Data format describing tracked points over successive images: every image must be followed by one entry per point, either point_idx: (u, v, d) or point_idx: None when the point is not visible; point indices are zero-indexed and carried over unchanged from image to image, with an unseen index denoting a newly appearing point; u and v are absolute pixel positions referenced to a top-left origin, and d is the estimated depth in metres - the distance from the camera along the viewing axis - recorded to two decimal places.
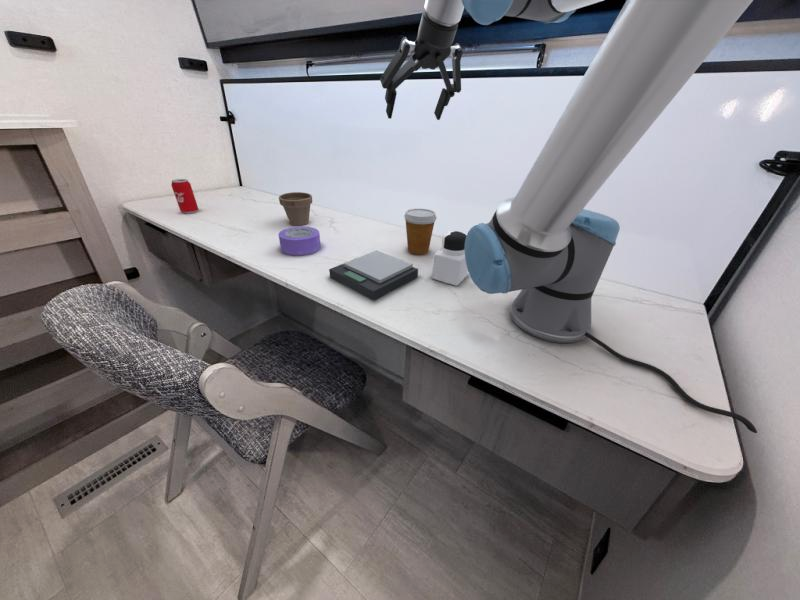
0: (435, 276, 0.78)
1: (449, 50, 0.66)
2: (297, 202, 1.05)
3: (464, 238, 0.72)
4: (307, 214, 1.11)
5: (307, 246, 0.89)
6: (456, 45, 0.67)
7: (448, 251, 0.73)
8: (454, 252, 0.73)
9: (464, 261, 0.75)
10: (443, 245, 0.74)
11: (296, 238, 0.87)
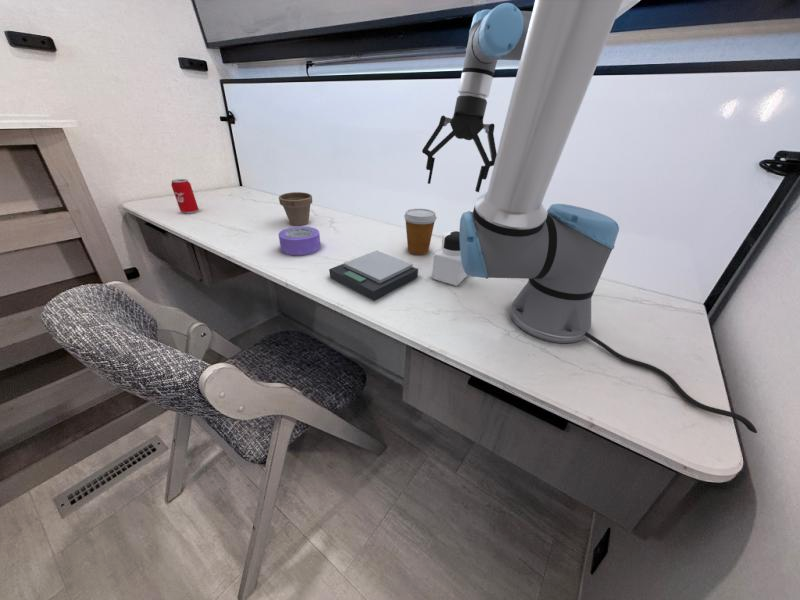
0: (435, 276, 0.78)
1: (481, 123, 0.76)
2: (297, 202, 1.05)
3: None
4: (307, 214, 1.11)
5: (307, 246, 0.89)
6: (489, 124, 0.77)
7: (448, 251, 0.73)
8: (454, 252, 0.73)
9: None
10: (443, 245, 0.74)
11: (296, 238, 0.87)
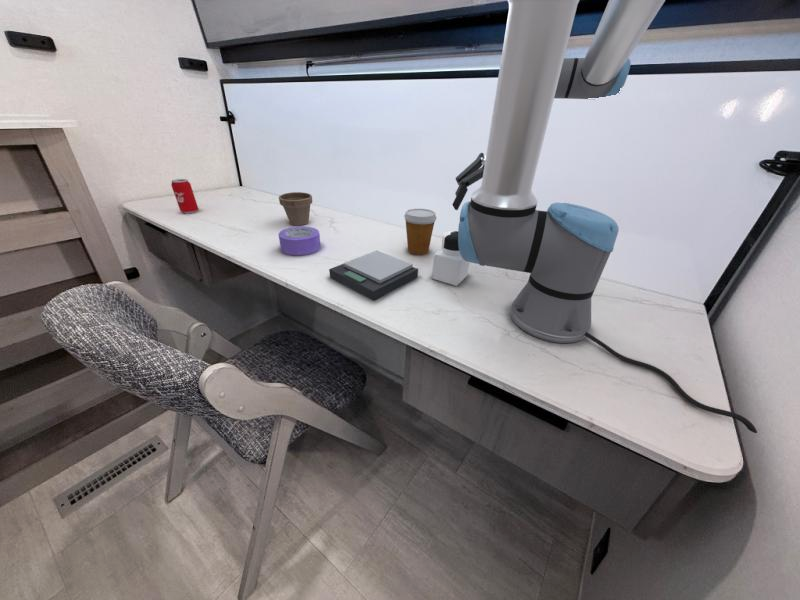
0: (435, 276, 0.78)
1: None
2: (297, 202, 1.05)
3: None
4: (307, 214, 1.11)
5: (307, 246, 0.89)
6: None
7: (448, 251, 0.73)
8: (454, 252, 0.73)
9: (464, 261, 0.75)
10: (443, 245, 0.74)
11: (296, 238, 0.87)
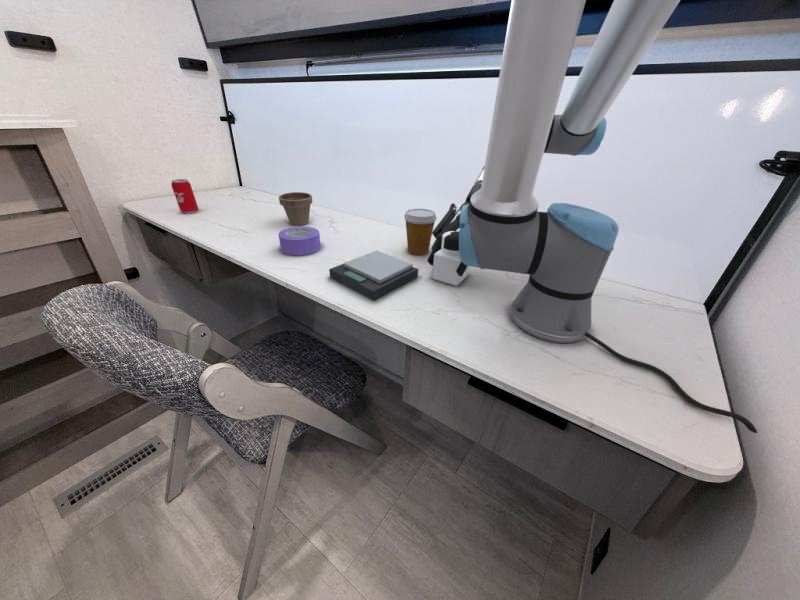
0: (435, 276, 0.78)
1: None
2: (297, 202, 1.05)
3: None
4: (307, 214, 1.11)
5: (307, 246, 0.89)
6: None
7: (448, 251, 0.73)
8: (454, 252, 0.73)
9: None
10: (443, 245, 0.74)
11: (296, 238, 0.87)
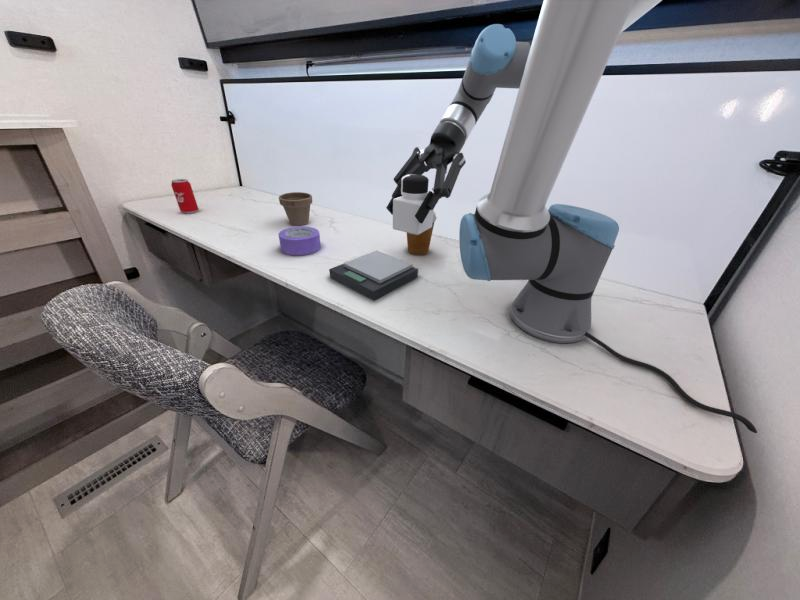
0: (395, 225, 0.71)
1: (452, 150, 0.68)
2: (297, 202, 1.05)
3: (424, 179, 0.66)
4: (307, 214, 1.11)
5: (307, 246, 0.89)
6: None
7: (407, 195, 0.67)
8: (413, 195, 0.66)
9: None
10: (402, 189, 0.68)
11: (296, 238, 0.87)
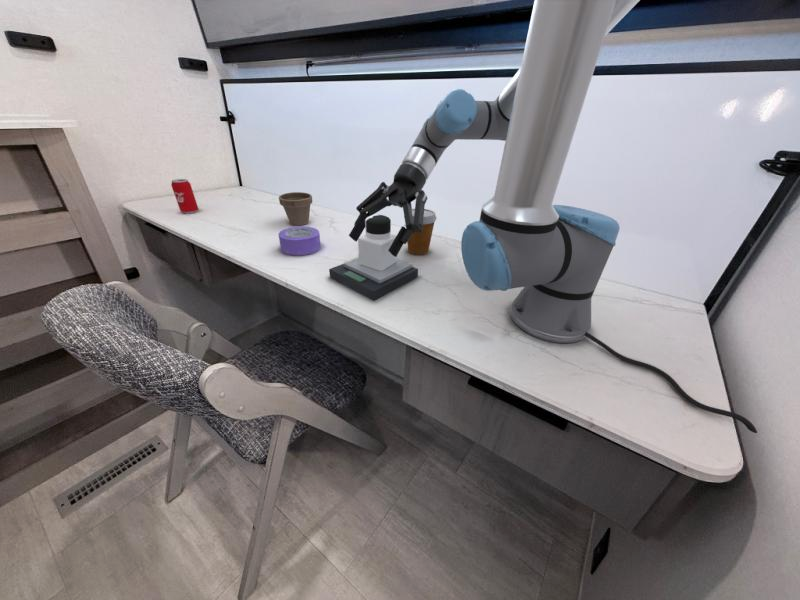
0: (361, 262, 0.76)
1: (413, 190, 0.72)
2: (297, 202, 1.05)
3: (385, 221, 0.70)
4: (307, 214, 1.11)
5: (307, 246, 0.89)
6: None
7: (370, 235, 0.71)
8: (376, 236, 0.71)
9: (388, 245, 0.73)
10: (366, 229, 0.72)
11: (296, 238, 0.87)
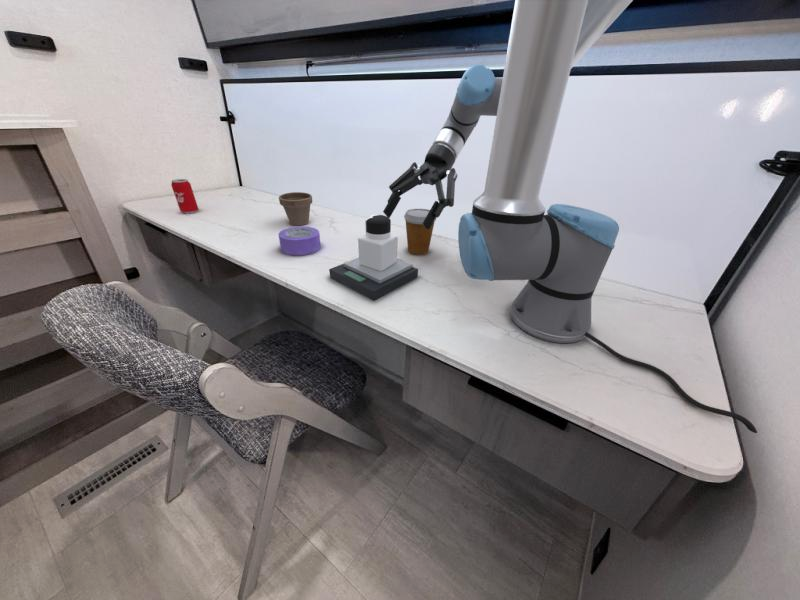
0: (361, 262, 0.76)
1: (444, 168, 0.78)
2: (297, 202, 1.05)
3: (385, 221, 0.70)
4: (307, 214, 1.11)
5: (307, 246, 0.89)
6: None
7: (370, 235, 0.71)
8: (376, 236, 0.71)
9: (388, 245, 0.73)
10: (366, 229, 0.72)
11: (296, 238, 0.87)
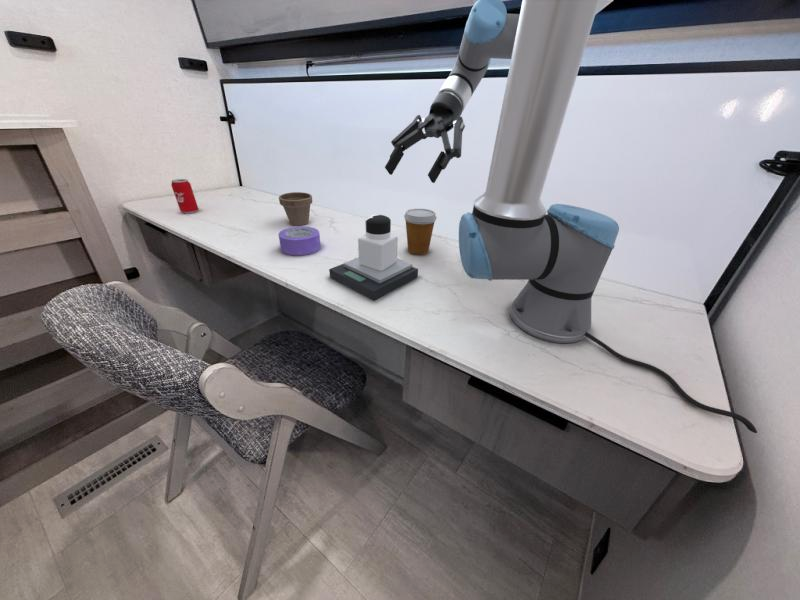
0: (361, 262, 0.76)
1: (450, 118, 0.73)
2: (297, 202, 1.05)
3: (385, 221, 0.70)
4: (307, 214, 1.11)
5: (307, 246, 0.89)
6: None
7: (370, 235, 0.71)
8: (376, 236, 0.71)
9: (388, 245, 0.73)
10: (366, 229, 0.72)
11: (296, 238, 0.87)
